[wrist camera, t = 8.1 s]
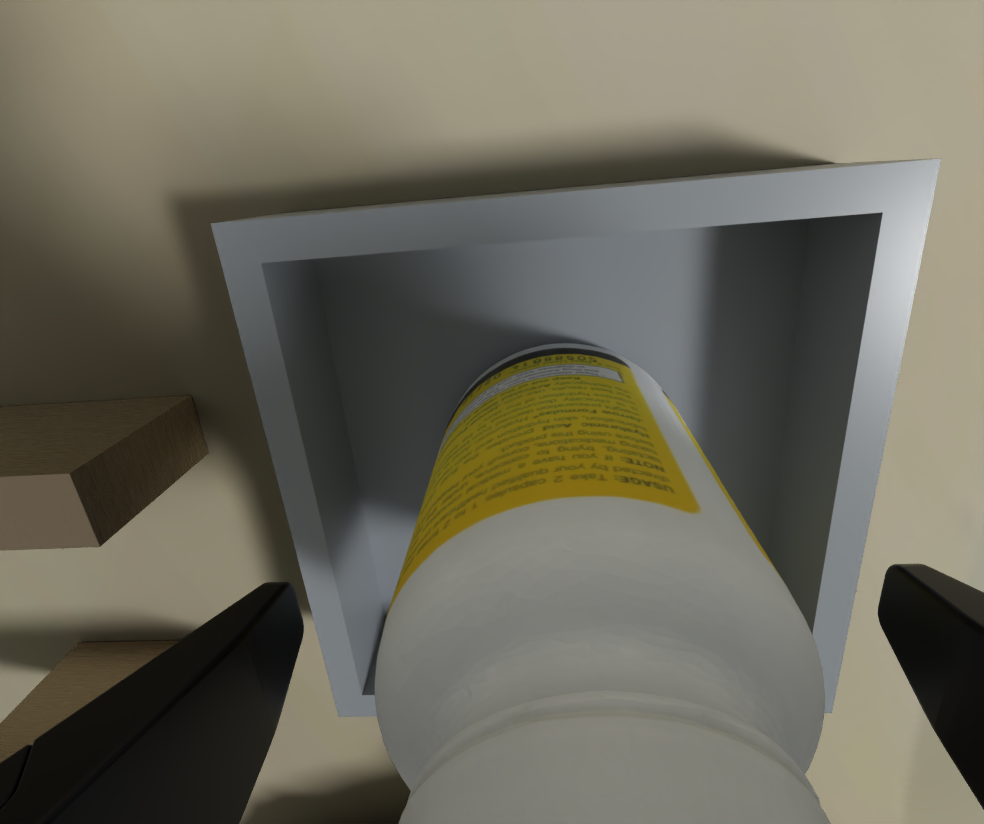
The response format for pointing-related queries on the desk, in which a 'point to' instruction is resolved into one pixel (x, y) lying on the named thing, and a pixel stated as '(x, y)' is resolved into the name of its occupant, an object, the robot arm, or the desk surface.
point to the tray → (589, 321)
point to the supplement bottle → (591, 619)
